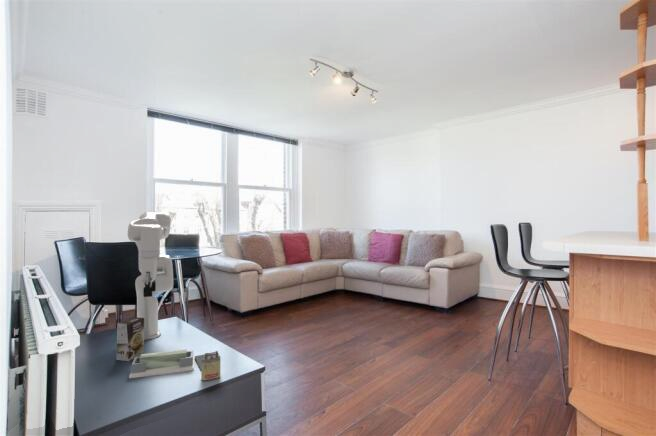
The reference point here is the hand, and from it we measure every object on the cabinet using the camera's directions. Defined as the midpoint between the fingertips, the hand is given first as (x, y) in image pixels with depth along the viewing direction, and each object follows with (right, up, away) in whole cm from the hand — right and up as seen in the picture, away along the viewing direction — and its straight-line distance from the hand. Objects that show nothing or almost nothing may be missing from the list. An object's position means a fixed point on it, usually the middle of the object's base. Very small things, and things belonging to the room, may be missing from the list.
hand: (149, 293), depth 147 cm
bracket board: (+10, -29, -8) cm, 31 cm away
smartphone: (+25, -29, -2) cm, 39 cm away
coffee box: (-10, -28, +2) cm, 30 cm away
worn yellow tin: (+32, -29, -16) cm, 46 cm away
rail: (+10, -28, -8) cm, 30 cm away
